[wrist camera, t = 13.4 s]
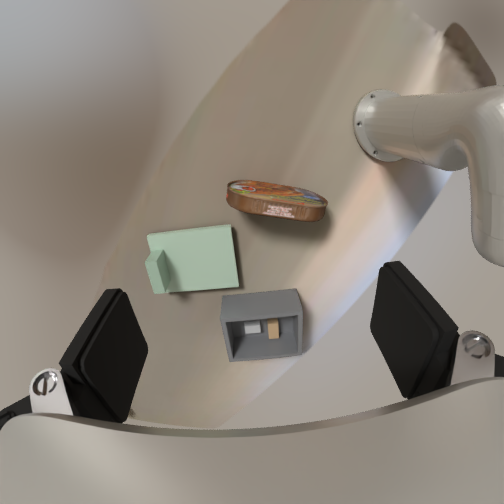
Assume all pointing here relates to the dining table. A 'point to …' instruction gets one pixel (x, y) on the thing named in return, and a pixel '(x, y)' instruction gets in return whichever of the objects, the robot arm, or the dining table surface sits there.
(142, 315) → the dining table surface
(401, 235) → the dining table surface
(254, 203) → the tin
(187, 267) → the lid
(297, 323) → the tub
